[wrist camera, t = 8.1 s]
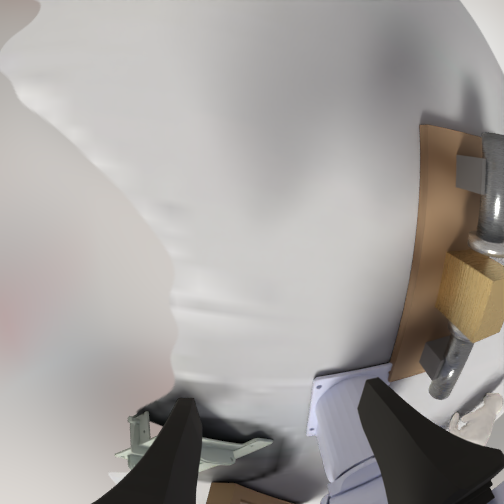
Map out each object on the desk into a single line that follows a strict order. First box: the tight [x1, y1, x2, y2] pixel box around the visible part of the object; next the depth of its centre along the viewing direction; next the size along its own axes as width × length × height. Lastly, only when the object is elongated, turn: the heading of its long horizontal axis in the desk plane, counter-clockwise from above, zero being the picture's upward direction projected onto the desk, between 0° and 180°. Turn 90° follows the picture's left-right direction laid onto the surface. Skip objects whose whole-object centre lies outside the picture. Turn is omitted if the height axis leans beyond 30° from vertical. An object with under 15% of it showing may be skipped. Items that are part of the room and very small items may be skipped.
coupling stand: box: [388, 125, 504, 400], centre depth 17 cm, size 22×9×6 cm, turn 3°
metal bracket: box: [115, 411, 273, 472], centre depth 25 cm, size 14×6×15 cm
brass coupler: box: [435, 249, 504, 343], centre depth 16 cm, size 5×4×6 cm
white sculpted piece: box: [449, 393, 503, 446], centre depth 25 cm, size 6×8×12 cm
